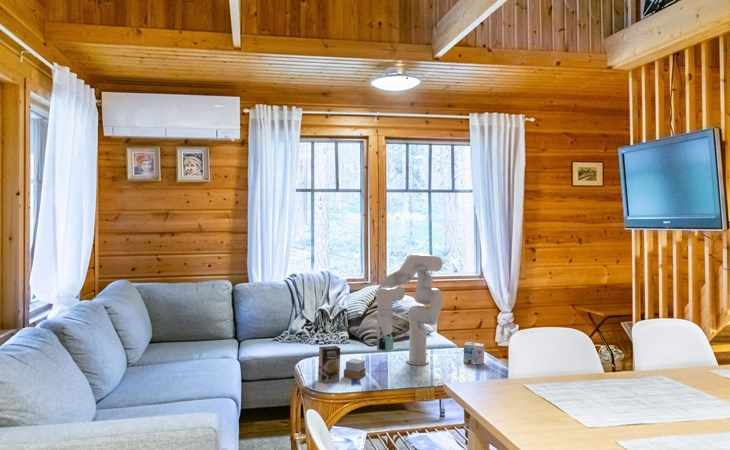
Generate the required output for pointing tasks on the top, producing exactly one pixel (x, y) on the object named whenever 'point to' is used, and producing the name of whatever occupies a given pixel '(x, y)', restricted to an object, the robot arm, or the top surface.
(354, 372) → the walnut base block
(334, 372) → the coffee box
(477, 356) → the light bulb box
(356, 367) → the slate grey top block
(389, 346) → the teal cube
